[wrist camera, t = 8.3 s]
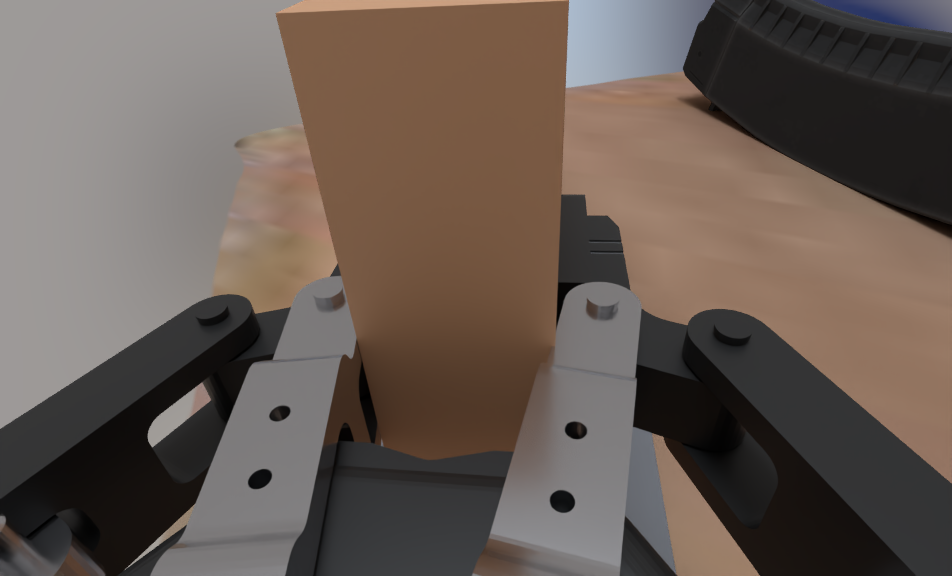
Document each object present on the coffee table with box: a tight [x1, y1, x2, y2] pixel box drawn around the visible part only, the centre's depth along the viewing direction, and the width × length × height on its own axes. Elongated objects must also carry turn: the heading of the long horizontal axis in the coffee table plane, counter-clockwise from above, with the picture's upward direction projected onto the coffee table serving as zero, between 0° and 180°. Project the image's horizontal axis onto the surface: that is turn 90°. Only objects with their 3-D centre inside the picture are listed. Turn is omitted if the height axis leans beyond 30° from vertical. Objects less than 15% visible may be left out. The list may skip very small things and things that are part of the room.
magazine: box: [683, 0, 952, 225], centre depth 35 cm, size 17×3×30 cm
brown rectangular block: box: [276, 0, 569, 460], centre depth 13 cm, size 3×8×14 cm, turn 173°
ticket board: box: [381, 427, 676, 574], centre depth 18 cm, size 10×18×16 cm, turn 173°
